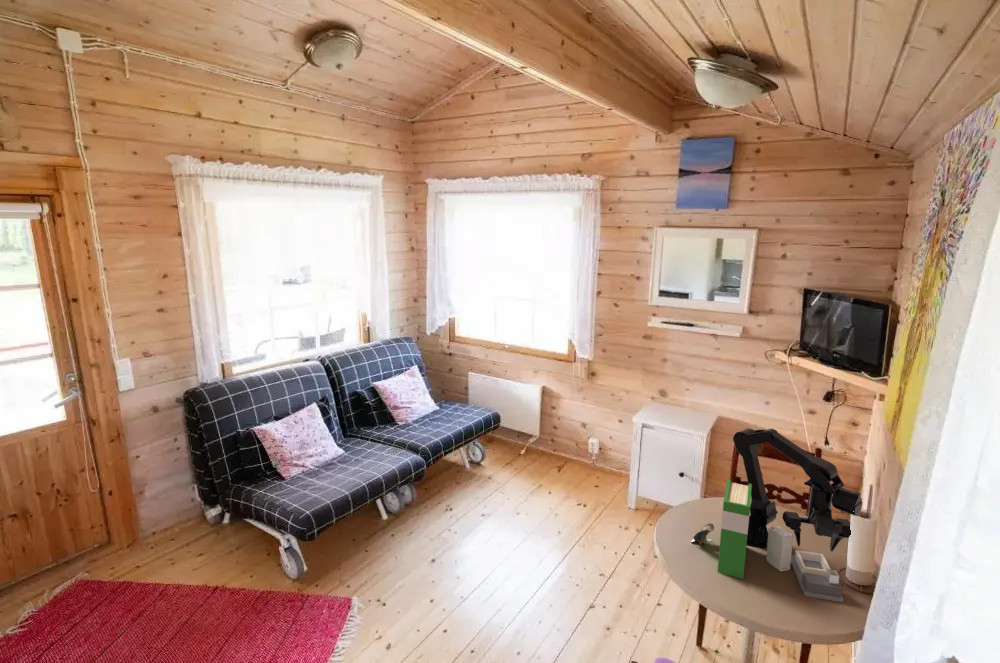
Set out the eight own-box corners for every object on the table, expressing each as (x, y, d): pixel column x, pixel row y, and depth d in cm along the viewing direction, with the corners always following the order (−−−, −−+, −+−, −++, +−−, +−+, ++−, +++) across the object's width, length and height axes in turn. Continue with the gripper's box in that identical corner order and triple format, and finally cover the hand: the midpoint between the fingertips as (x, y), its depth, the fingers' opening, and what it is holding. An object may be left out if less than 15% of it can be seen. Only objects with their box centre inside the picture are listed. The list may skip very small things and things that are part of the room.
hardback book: (721, 544, 181) (727, 479, 177) (745, 550, 178) (751, 483, 174) (717, 572, 166) (723, 501, 162) (743, 579, 162) (750, 507, 158)
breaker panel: (804, 595, 155) (806, 582, 154) (788, 557, 174) (789, 546, 173) (842, 602, 152) (844, 589, 151) (822, 563, 171) (823, 551, 170)
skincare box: (790, 569, 167) (794, 535, 165) (779, 572, 166) (783, 537, 164) (775, 558, 173) (779, 525, 171) (764, 561, 172) (768, 527, 170)
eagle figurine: (712, 557, 174) (714, 532, 172) (689, 552, 176) (691, 527, 175) (712, 545, 180) (714, 521, 179) (690, 540, 183) (692, 516, 182)
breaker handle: (828, 583, 154) (830, 574, 153) (825, 577, 157) (826, 568, 156) (838, 585, 153) (839, 576, 153) (834, 578, 156) (835, 570, 155)
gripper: (793, 510, 158) (788, 557, 160) (864, 519, 152) (857, 568, 155) (784, 493, 168) (779, 538, 171) (851, 502, 163) (845, 548, 166)
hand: (814, 548), depth 165 cm, fingers open, 9 cm apart
